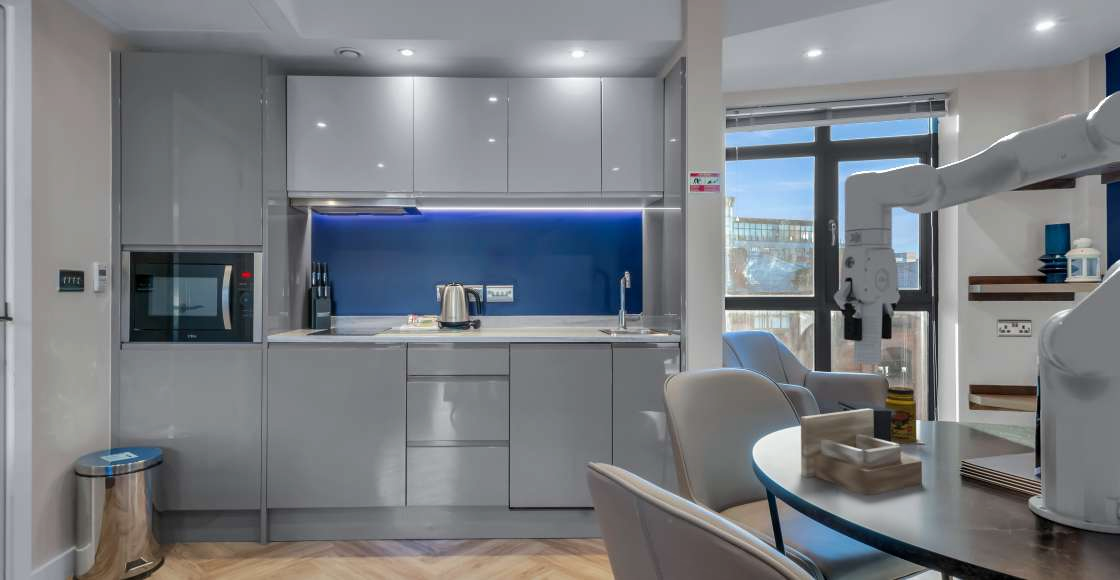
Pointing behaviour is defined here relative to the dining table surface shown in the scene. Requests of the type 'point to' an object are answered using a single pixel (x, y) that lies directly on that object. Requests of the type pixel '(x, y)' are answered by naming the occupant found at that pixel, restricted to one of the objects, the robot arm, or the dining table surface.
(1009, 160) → the robot arm
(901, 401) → the condiment
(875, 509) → the dining table surface
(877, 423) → the small box
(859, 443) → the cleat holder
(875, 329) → the skincare box
